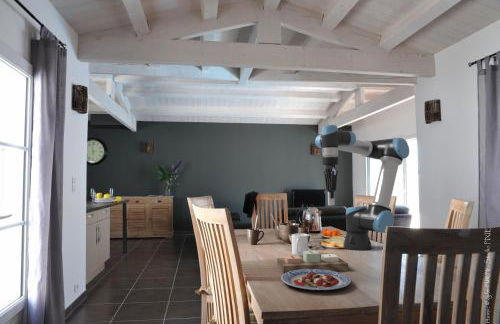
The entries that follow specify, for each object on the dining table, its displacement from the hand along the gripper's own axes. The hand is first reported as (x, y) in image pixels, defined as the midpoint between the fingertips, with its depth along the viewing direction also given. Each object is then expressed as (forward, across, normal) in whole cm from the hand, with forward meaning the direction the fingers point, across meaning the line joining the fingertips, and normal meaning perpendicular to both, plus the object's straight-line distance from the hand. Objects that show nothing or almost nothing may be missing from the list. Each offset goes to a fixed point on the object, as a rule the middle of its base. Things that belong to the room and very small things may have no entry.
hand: (331, 205), depth 167 cm
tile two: (+24, +12, -14) cm, 30 cm away
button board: (+26, +12, -14) cm, 32 cm away
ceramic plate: (+27, +34, -19) cm, 47 cm away
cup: (+27, -13, -13) cm, 32 cm away
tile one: (+26, +12, -6) cm, 29 cm away
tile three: (+26, +12, -22) cm, 36 cm away
